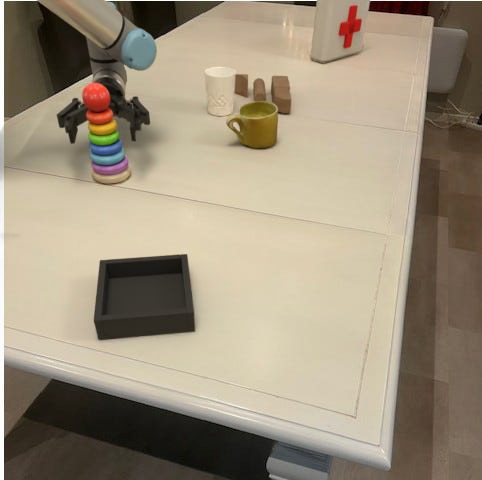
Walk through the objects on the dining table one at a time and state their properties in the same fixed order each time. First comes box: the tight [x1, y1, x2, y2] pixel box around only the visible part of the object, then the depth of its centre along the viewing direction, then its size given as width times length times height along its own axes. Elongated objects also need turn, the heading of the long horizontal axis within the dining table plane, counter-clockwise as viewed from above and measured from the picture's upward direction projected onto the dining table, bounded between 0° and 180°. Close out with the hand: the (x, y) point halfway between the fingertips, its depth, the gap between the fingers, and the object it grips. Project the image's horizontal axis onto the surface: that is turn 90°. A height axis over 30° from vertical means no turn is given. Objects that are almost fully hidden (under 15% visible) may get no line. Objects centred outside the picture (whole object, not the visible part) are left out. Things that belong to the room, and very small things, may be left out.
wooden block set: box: [235, 73, 292, 114], centre depth 132 cm, size 17×6×18 cm
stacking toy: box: [81, 82, 131, 184], centre depth 95 cm, size 8×8×19 cm
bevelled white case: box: [310, 0, 371, 64], centre depth 160 cm, size 21×8×20 cm, turn 132°
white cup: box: [204, 66, 237, 117], centre depth 125 cm, size 8×8×10 cm
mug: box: [225, 100, 279, 149], centre depth 113 cm, size 12×10×10 cm
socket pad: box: [93, 253, 196, 341], centre depth 72 cm, size 14×14×4 cm
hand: (102, 135), depth 91 cm, fingers open, 11 cm apart
